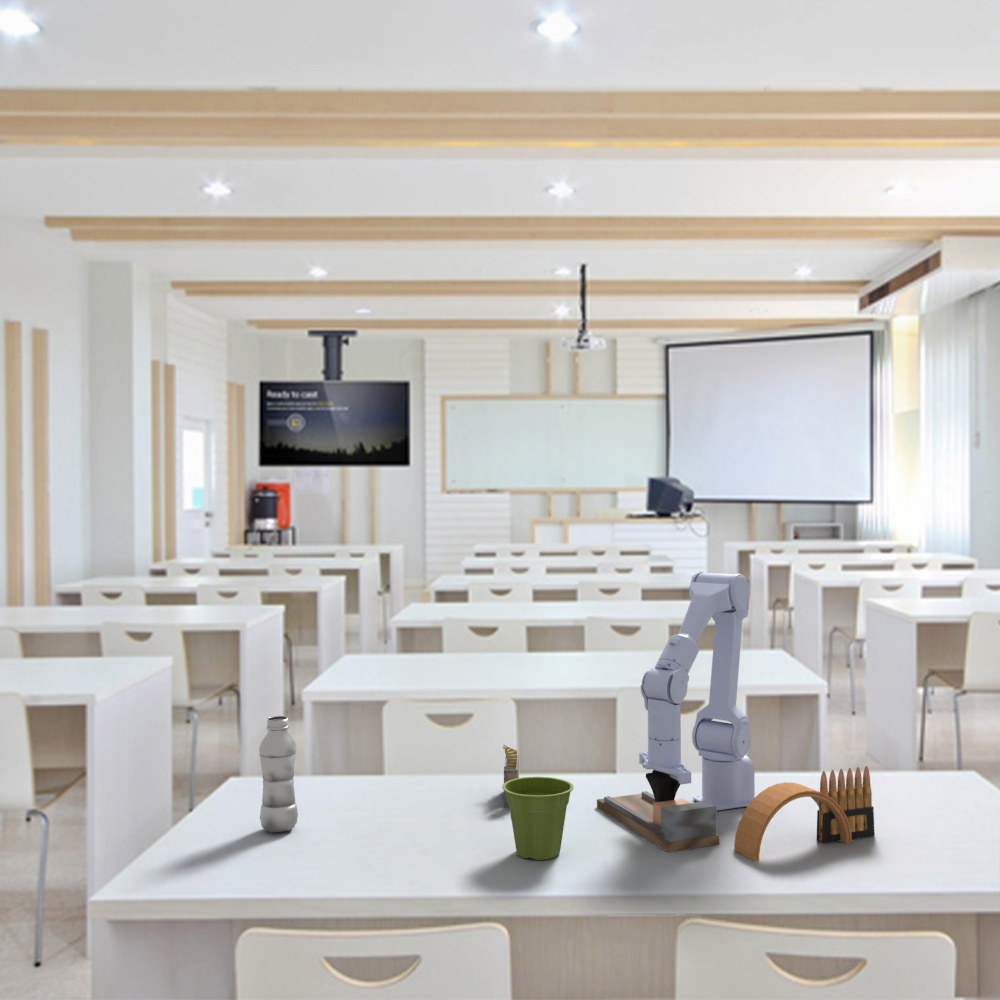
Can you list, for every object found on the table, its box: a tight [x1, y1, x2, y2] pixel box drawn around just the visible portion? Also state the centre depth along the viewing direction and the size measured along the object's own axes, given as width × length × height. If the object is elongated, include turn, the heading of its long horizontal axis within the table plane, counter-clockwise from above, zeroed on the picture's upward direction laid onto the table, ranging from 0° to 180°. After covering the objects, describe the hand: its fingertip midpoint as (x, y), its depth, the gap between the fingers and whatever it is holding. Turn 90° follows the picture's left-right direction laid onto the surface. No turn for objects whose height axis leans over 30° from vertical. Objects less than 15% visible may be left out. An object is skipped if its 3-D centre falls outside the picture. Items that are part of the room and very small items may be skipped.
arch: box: [733, 782, 853, 861], centre depth 172 cm, size 6×20×10 cm, turn 112°
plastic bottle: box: [258, 715, 299, 833], centre depth 182 cm, size 6×7×20 cm
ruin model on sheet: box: [502, 744, 520, 809], centre depth 200 cm, size 11×3×10 cm, turn 178°
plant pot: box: [501, 776, 575, 861], centre depth 170 cm, size 12×12×11 cm
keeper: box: [653, 798, 691, 827], centre depth 177 cm, size 6×5×4 cm
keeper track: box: [596, 790, 721, 853], centre depth 184 cm, size 10×26×6 cm, turn 21°
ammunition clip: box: [816, 765, 876, 844], centre depth 176 cm, size 11×2×12 cm, turn 109°
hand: (664, 814), depth 181 cm, fingers closed
